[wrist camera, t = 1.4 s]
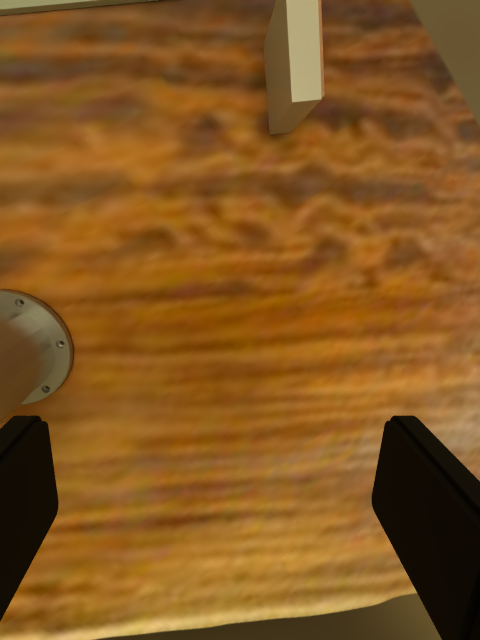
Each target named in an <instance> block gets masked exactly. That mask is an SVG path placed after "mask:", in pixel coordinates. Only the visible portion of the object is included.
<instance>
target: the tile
mask: <svg viewBox="0 0 480 640" xmlns="http://www.w3.org/2000/svg"><path fill="white" fill-rule="evenodd" d="M263 52H264V65H265V78H266V91H267V104H268V118H269V131H270V135H273V134H282V133H291V132H292V131H293V130H294V129H295V128H296V126H297V125H298V124H299V123H300V122H301V121H302V120H303V119H304V118H305V117H306V116H307V115H308V114H309V112H310V111H311V110H312V109H313V108H314V107H315V106H316V105H317V104H318V103H319V102H320V101H321V99H322V98H323V97H324V71H323V42H322V12H321V0H276V3H275V7H274V10H273V14H272V17H271V21H270V24H269V28H268V31H267V35H266V39H265V42H264V46H263Z"/></svg>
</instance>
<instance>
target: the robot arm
mask: <svg viewBox="0 0 480 640" xmlns="http://www.w3.org/2000/svg"><path fill="white" fill-rule="evenodd" d="M22 300H23V301H24V303H23V302H22ZM62 341H63V342H64V343H62ZM72 361H73V346H72V342H71V337H70V335H69V333H68V331H67V328H66V326H65V325H64V323H63V322H62V320H61V319H60V317H59V316H58V315H57V314H56V313H55V312H54V311H53V310H52V309H51V308H50V307H48V306H47V305H45V304H44V303H43V302H41V301H40V300H38V299H36V298H34V297H32V296H30V295H28V294H25V293H22V292H18V291H14V290H7V289H0V424H1V423H2V422H3V421H4V420H5V419H6V418H7V417H8V416H9V415H10V414H11V413H12V412H13V411H14V410H15V409H16V408H17V407H18V406H19V405H26V404H30V403H35V402H37V401H40V400H42V399H44V398H46V397H48V396H49V395H51V394H52V393H54V392H55V391H56V390H57V389H58V388H59V387H60V386H61V384H62V383H63V382H64V380H65V379H66V378H67V376H68V374H69V372H70V369H71V366H72ZM372 506H373V509H374V512H375V514H376V516H377V518H378V519H379V521H380V523H381V525H382V527H383V529H384V531H385V533H386V535H387V536H388V538H389V540H390V542H391V544H392V546H393V548H394V550H395V552H396V553H397V555H398V557H399V559H400V561H401V563H402V565H403V567H404V569H405V570H406V572H407V574H408V576H409V578H410V580H411V582H412V584H413V586H414V588H415V589H416V591H417V593H418V595H419V597H420V599H421V601H422V602H423V605H424V606H425V608H426V610H427V612H428V614H429V616H430V618H431V619H432V622H433V623H434V625H435V627H436V629H437V631H438V633H439V635H440V637H441V639H442V640H480V481H479V480H478V479H477V478H476V477H475V476H474V475H473V474H472V473H471V472H470V471H469V470H468V469H467V468H466V467H465V466H464V465H463V464H462V463H461V462H460V461H459V460H458V459H457V458H456V457H455V456H454V455H453V454H452V453H451V452H450V451H449V450H448V449H447V448H446V447H445V446H444V445H443V444H442V443H441V442H440V441H439V440H438V439H437V438H436V437H435V436H434V435H433V433H432V432H431V431H430V430H429V429H428V428H427V427H426V426H425V425H424V424H423V423H422V422H421V421H420V420H419V419H418V418H417V417H415V416H393V417H392V418H391V420H390V421H387V422H386V423H385V426H384V432H383V437H382V443H381V448H380V454H379V459H378V465H377V470H376V476H375V481H374V487H373V492H372ZM57 511H58V495H57V488H56V480H55V473H54V465H53V458H52V451H51V443H50V436H49V428H48V424H47V422H45V421H42V420H41V418H40V417H39V416H14V417H12V418H11V419H10V420H9V421H8V422H7V423H6V424H5V425H4V426H3V427H2V428H1V429H0V621H1V619H2V617H3V615H4V613H5V611H6V609H7V608H8V606H9V604H10V602H11V600H12V598H13V596H14V594H15V593H16V591H17V589H18V587H19V585H20V583H21V581H22V579H23V578H24V576H25V574H26V572H27V570H28V568H29V566H30V564H31V562H32V561H33V559H34V557H35V555H36V553H37V551H38V549H39V547H40V546H41V544H42V542H43V540H44V538H45V536H46V534H47V532H48V531H49V529H50V527H51V525H52V523H53V521H54V519H55V517H56V515H57Z"/></svg>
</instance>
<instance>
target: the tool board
mask: <svg viewBox="0 0 480 640" xmlns="http://www.w3.org/2000/svg"><path fill="white" fill-rule="evenodd" d="M147 1H157V0H0V15H10V14H20V13H31V12H42V11H52V10H63V9H73V8H84V7H94V6H105V5H115V4H126V3H136V2H147Z"/></svg>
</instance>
